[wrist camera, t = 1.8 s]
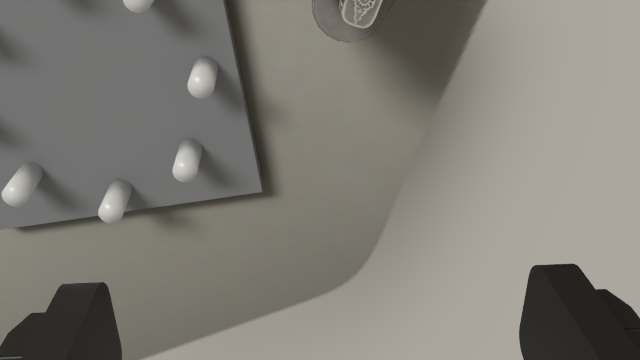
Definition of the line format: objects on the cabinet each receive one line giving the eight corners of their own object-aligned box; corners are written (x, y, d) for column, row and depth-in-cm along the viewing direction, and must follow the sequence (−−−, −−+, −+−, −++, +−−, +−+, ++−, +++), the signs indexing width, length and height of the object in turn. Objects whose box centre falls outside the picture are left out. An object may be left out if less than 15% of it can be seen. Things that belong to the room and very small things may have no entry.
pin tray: (-128, -57, 27) (-181, -42, 24) (204, -106, 27) (195, -97, 24) (3, 218, 35) (-24, 258, 31) (262, 181, 35) (261, 216, 31)
